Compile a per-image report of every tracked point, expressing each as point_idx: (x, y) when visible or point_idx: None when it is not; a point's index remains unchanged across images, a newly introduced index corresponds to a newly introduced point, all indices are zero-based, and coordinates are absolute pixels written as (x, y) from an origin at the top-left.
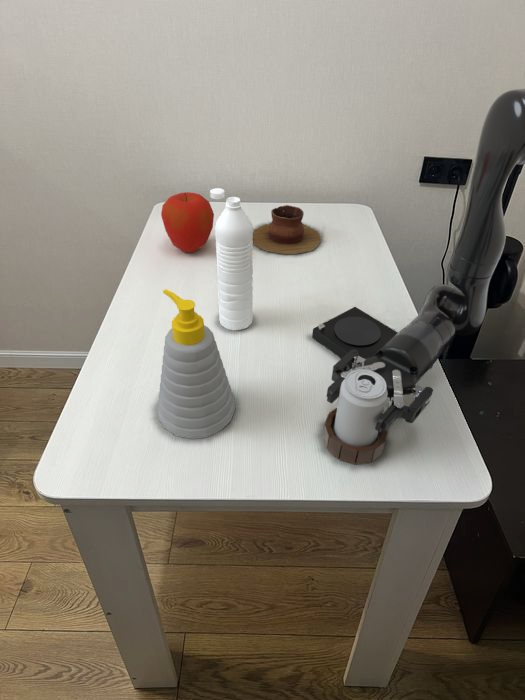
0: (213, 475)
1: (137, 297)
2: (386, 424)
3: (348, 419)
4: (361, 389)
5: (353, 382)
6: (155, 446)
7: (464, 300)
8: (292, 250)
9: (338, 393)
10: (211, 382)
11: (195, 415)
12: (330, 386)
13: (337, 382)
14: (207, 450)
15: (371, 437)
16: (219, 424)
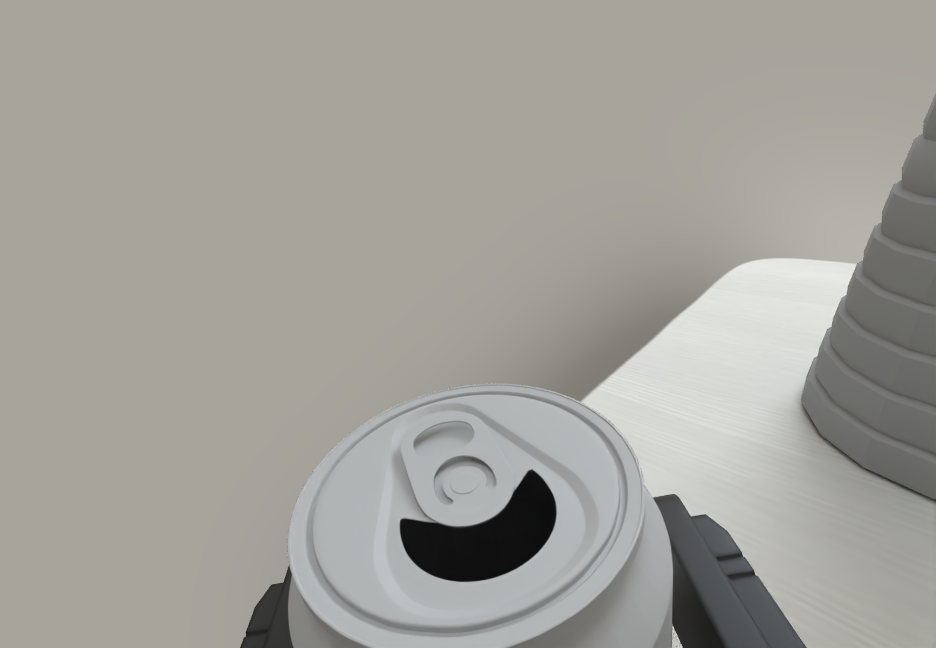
0: (664, 383)
1: None
2: (274, 588)
3: (484, 526)
4: (442, 419)
5: (531, 429)
6: (805, 340)
7: None
8: None
9: (676, 604)
10: (895, 251)
11: (832, 323)
12: (730, 547)
13: (754, 611)
14: (750, 395)
15: None
16: (824, 408)
